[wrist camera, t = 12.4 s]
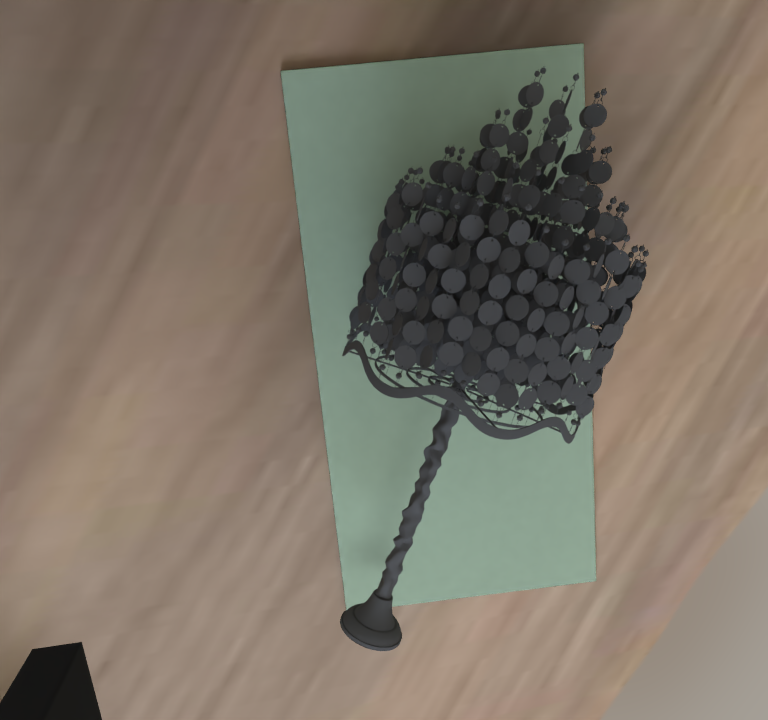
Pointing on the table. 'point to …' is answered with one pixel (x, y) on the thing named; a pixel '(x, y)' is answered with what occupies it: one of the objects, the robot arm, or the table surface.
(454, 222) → the dark grey tree model
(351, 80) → the desk mat
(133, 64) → the table surface
